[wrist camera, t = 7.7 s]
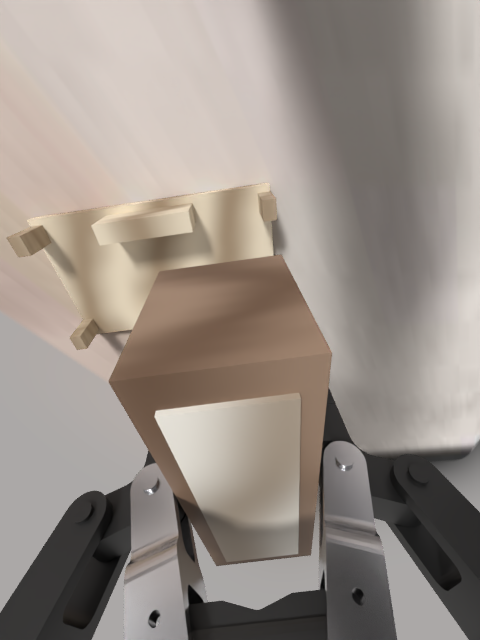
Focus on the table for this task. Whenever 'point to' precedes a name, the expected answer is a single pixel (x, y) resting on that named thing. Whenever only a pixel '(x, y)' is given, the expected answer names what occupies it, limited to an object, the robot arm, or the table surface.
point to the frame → (232, 403)
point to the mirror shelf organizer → (145, 248)
